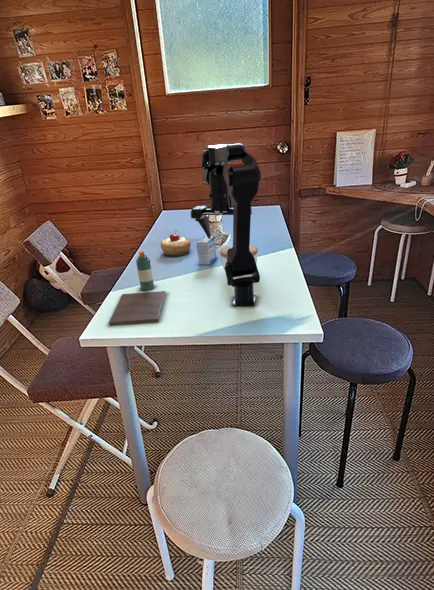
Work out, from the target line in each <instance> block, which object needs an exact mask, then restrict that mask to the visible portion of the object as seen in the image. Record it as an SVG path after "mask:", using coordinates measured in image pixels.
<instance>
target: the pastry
mask: <svg viewBox="0 0 434 590" xmlns="http://www.w3.org/2000/svg"><path fill="white" fill-rule="evenodd" d="M176 232H177V233H180V231H179V230H178V229H175V230H174V233H171V234H170V235H169V237H167V238H166V237H165V238H163V239H162V240H161V241H160V244H159V245H160V248H161V251H162V252H163V254H164V255H166V256H170V257H179V256H184V255H186V254H188V253H189V251H190V249H191V240H190V239H189V238H188V237H185V236H180V235H178V234H176Z"/></svg>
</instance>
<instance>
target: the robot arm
mask: <svg viewBox="0 0 434 590" xmlns="http://www.w3.org/2000/svg"><path fill="white" fill-rule="evenodd" d="M236 161H238V162H239V161H241V162H242V165H232V166H231V165H230V166H229V164H230V163H231V162H236ZM228 166H229V167H228ZM200 167H201V169H202V173H201V179H202V180H203V182H204V183H206V184H207V185H209V199H210V205H211V207H210V208H208V206H207V205H196V206H195V207H193V208H191V210H190V219H194V221H195V222H198V224H199V226H200V227H201V228H202V230H203V232H204V233H205V236H207V237H208V239H210V238H211V236H212V235H211V234H212V233H211V228H210V227H211V226H210V216H233V217H232V244H233V247H232V248H230V249H228V250H227V262H226V264H225V270H224V273H225V277H226V284H227V286H229V287H231V288H233V293H234V296H233V297H234V298H233V301H232V304H231V305H232V306H233V307H234V306H236V307H237V306H238V307H243V306H246V307H249V306H251V307H253V306H255V304H256V299H257V295H256V294H254V293H255V291H254V284H256V283H260V282H261V281H260V280H261V276H260V272H259V269H258V265H257V264H256V262H255V258H254V256H253V255H252V253H251V252H250V250H249V246H250V244H251V243H250V242H251V221H252V220H251V219H252V218H251V217H252V214H253V212H252V211H253V209H252V201H253V200H254V198H255V197H256V195H257V194H258V193H259V186H260V182H261V179H262V174H261V173H262V172H261V169H260V167H259V163H258V162H257V159H256V158H255V157H254V156H253V155H252V154H251V153H249V152H248V151H247V150H246V147H245V145H244V144H242V143H232V144H227V143H224V144H213V145H205V147H204V150H203V151H202V154H201V161H200ZM244 275H250V276H247V277H241V278H233V277H238V276H244Z"/></svg>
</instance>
